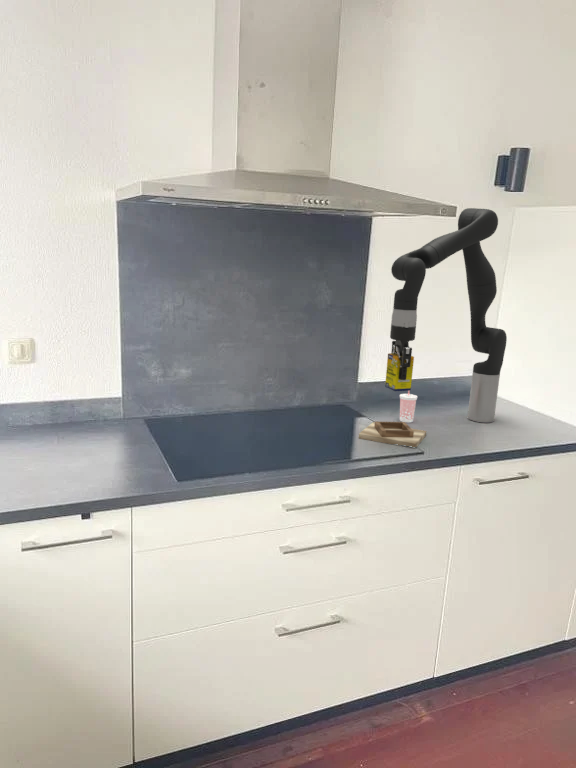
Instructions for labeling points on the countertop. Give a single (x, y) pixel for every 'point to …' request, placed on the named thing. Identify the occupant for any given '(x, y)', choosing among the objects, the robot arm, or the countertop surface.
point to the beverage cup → (407, 407)
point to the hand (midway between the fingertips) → (398, 376)
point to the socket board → (392, 440)
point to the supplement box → (397, 374)
